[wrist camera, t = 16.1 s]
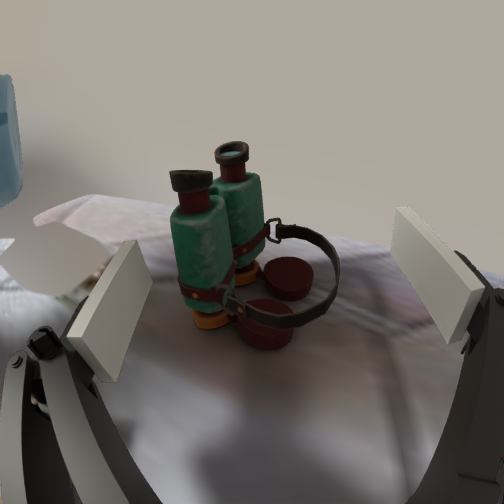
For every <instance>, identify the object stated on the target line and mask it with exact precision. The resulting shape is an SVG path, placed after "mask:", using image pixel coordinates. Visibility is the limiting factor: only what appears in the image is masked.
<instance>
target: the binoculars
mask: <svg viewBox="0 0 504 504" xmlns="http://www.w3.org/2000/svg"><path fill="white" fill-rule="evenodd" d="M214 154H215V160H216V163H218V164H220V171H221V176H220V177H219V178H216V179H214V180H213V173H212V172H211V171H203V170H176V171H170V172H169V173H170V178H171V184H172V188H173V190H174V191H175V192H178V197H179V203H180V204H179V205H178V206H177V207H176V208H175V210H174V211H173V213H172V214H171V217H170V224H171V232H172V238H173V244H174V250H175V256H176V262H177V268H178V273H179V275H178V282H179V286H180V290H181V293H182V295H183V296H184V300H185V303H186V305H187V306H188V307H190V308H192V314H193V317H194V321H195V323H196V325H197V326H198V327H200V328H202V329H213V328H217V327H220V326H222V325H225V324H226V323H228V322H231V323H233V324H236V325H237V329H238V332H239V333H240V335H241V336H242V338H243V339H244V340H245V341H247V342H248V343H249V344H251V345H253V346H255V347H257V348H261V349H268V350H269V349H277V348H280V347H282V346H284V345H286V344H287V343H288V342H289V341H290V340H291V338H292V334H293V330H294V328H295V327H301V326H303V325H304V324H306V323H308V322H310V321H312V320H314V319H316V318H318V317H320V316H321V315H323V314H325V313H326V311H327V310H328V308H329V307H330V305H331V304H332V302H333V301H334V299H335V297H336V293H337V288H338V283H339V276H340V263H339V257H338V255H337V253H336V250H335V248H334V246H333V245H332V244H331V243H330V242H329V241H328V240H327V239H326V238H325V237H324V236H323V235H321V234H319V233H317V232H315V231H313V230H311V229H309V228H305V227H300V226H296V224H294V225H283V224H281V219H280V218H273V219H269V220H268V221H267V222H266V223H264V212H263V201H262V190H261V181H260V177H259V175H257V174H255V173H250V172H246V170H245V162H246V161H248V160H249V146H248V144H246V143H245V142H241V141H233V142H229V143H225V144H223V145H221V146H219V147H218V148H217V149H216V150H215V153H214ZM273 221H278V224H276V238H277V239H278V241H277V240H274V239H271V238H270V224H269V223H270V222H273ZM265 237H266V238H267V239H268V240H269V241H271V242H274V243H276V244H280V242H281V239H286V238H298V239H302V240H307V241H308V242H310V243H312V244H314V245H316V246H318V247H320V248H321V249H322V250H323V251H324V253H325V254H326V255H327V256H328V257H329V258H330V259H331V261H332V264H333V267H334V269H335V274H336V285H335V286H334V288H333V289H332V291H331V292H330V294H329V295H328V297H327V298H326V299H325V300H324V301H322V302H320V303H318V304H316V305H314V306H312V307H310V308H308V309H306V310H304V311H302V312H298V313H294V312H293V311H292V309H291V308H289V307H288V306H287V305H285V304H284V303H281V302H279V301H275V300H270V299H255V300H250V301H247V302H244V301H242V300H241V299H240V298H239V297H238V296H237V295H236V294H235V293H233V288H234V286H237V285H244V284H248V283H251V282H253V281H255V280H257V279H259V280H262V281H264V284H265V286H266V288H267V289H268V291H269V292H270V293H271V294H272V295H274V296H275V297H277V298H279V299H281V300H284V301H296V300H300V299H302V298H304V297H305V296H307V295H308V294H309V292H310V290H311V286H312V281H313V276H314V275H313V270H312V268H311V266H310V265H309V264H308V263H307V262H306V261H304V260H302V259H299V258H296V257H280V258H276V259H273V260H271V261H269V262H268V263H267V264H266V265H265V267H264V272H263V271H262V270H261V267H260V265H259V263H258V262H257V261H256V260H254V259H255V258H256V257H257V256H258V255H259V254H260V253H261V252H262V251H263V249H264V247H265ZM236 313H237V314H236Z"/></svg>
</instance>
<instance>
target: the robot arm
mask: <svg viewBox="0 0 504 504" xmlns="http://www.w3.org/2000/svg"><path fill="white" fill-rule="evenodd" d="M22 186H23V162H22V153H21V145H20V136H19V128H18V119H17V110H16V101H15V93H14V87H13V85H12V78H11V76H10V75H8V74H7V75H0V209H1V208H3V207H4V206H6V205H7V204H9V203H10V202H12V201H13V200H14V199H16V198H17V196H18V195H19V193H20V191H21V189H22ZM390 255H391V256H392V257H393V259H394V260H395V262H396V263H397V264H398V266H399V267H400V269H401V270H402V272H403V273H404V275H405V276H406V278H407V279H408V281H409V282H410V284H411V285H412V287H413V288H414V290H415V291H416V293H417V294H418V296H419V298H420V299H421V301H422V302H423V304H424V305H425V307H426V309H427V310H428V312H429V314H430V315H431V317H432V319H433V320H434V322H435V324H436V325H437V327H438V329H439V331H440V332H441V334H442V336H443V338H444V339H445V341H446V343H447V345H448V344H450V343H453V342H456V341H459V340H461V339H462V337H463V335H464V333H465V331H466V329H467V331H468V332H469V334H470V337H469V339H468V340H467V342H466V344H465V346H464V348H463V349H462V352H461V354H463V353H464V351H465V350H466V351H465V356H464V361H463V366H462V370H461V374H460V378H459V382H458V386H457V390H456V393H455V397H454V400H453V404H452V407H451V410H450V413H449V416H448V419H447V422H446V425H445V428H444V431H443V433H442V436H441V439H440V441H439V444H438V446H437V449H436V451H435V453H434V456H433V458H432V460H431V462H430V465H429V467H428V469H427V471H426V473H425V475H424V477H423V479H422V481H421V483H420V485H419V487H418V489H417V490H416V492H415V493H414V494H413V495H412V496H411V498H410V499H409V500H408V501H407V502H406V503H405V504H496V503H497V500H498V498H499V494H500V485H499V484H498V483H497V482H496V474H497V471H498V467H499V464H500V461H501V457H502V454H503V450H504V289H500V288H496V289H494V288H493V287H492V286H491V285H490V283H489V282H488V281H487V280H486V279H485V278H484V276H483V275H482V274H481V273H480V272H479V271H478V270H477V269H476V267H475V266H474V265H472V264H471V262H470V261H469V260H468V259H467V258H466V257H465V256H464V255H462V254H461V253H459V252H458V251H453V250H452V249H451V248H450V247H449V246H448V245H447V244H446V243H445V242H444V241H443V240H442V239H441V238H440V237H439V236H438V235H437V234H436V233H435V232H434V231H433V230H432V229H431V228H430V227H429V226H428V225H427V224H426V223H425V222H424V221H423V220H422V219H421V218H420V217H419V216H418V215H416V214H415V213H414V212H413V211H412V210H411V209H410V208H409V207H396V208H395V216H394V225H393V234H392V242H391V250H390ZM152 284H153V281H152V279H151V276H150V273H149V271H148V268H147V266H146V263H145V261H144V258H143V255H142V253H141V250H140V247H139V245H138V242H137V240H131V241H124V242H123V244H122V245H121V247H120V248H119V250H118V251H117V253H116V254H115V256H114V257H113V259H112V260H111V262H110V263H109V265H108V266H107V268H106V269H105V271H104V273H103V274H102V276H101V277H100V279H99V281H98V282H97V284H96V285H95V287H94V289H93V290H92V292H91V294H90V295H89V296H87V297H86V298H85V299H84V300H83V301H82V302H81V303H80V304H79V305H78V307H77V309H76V310H75V313H74V314H73V316H72V317H71V320H70V321H69V323H68V324H67V326H66V328H65V330H64V332H63V333H62V335H61V337H60V339H59V338H58V337H57V335H56V334H55V333H54V331H53V330H52V328H51V327H49V326H42V327H40V328H38V329H37V330H35V331H34V332H33V333H32V335H31V336H30V337H29V340H28V343H27V346H28V347H29V348H30V350H31V351H32V352H33V353H34V355H35V356H36V357H33V358H30V357H29V356H28V354H27V353H26V352H25V351H23V350H21V351H18V352H16V353H14V354H13V355H12V356H11V357H10V359H9V361H8V363H7V367H6V372H5V378H4V385H3V392H2V400H1V410H0V487H1V496H2V504H75V501H74V497H73V493H72V488H71V483H70V478H69V474H70V476H71V479H72V481H73V484H74V486H75V488H76V490H77V493H78V495H79V497H80V499H81V501H82V503H83V504H163V503H162V502H161V501H160V499H159V498H158V497H157V495H156V494H155V492H154V491H153V489H152V488H151V487H150V485H149V484H148V482H147V481H146V479H145V478H144V476H143V474H142V473H141V471H140V470H139V468H138V467H137V465H136V463H135V462H134V460H133V458H132V457H131V455H130V453H129V451H128V450H127V448H126V446H125V444H124V443H123V441H122V439H121V437H120V435H119V433H118V431H117V429H116V427H115V425H114V423H113V421H112V419H111V417H110V415H109V413H108V411H107V409H106V407H105V405H104V403H103V400H102V398H101V396H100V394H99V391H98V389H97V386H96V384H95V383H94V382H93V381H92V378H93V376H94V373H95V375H96V376H97V377H98V378H99V379H100V380H101V382H111V383H116V382H117V379H118V376H119V373H120V370H121V367H122V364H123V361H124V358H125V355H126V352H127V349H128V346H129V344H130V341H131V338H132V335H133V333H134V330H135V327H136V324H137V322H138V319H139V317H140V314H141V311H142V309H143V306H144V304H145V301H146V299H147V296H148V294H149V291H150V289H151V286H152ZM31 396H32V397H33V398H34V399H35V404H33V403H32V402H31ZM502 504H504V496H503V502H502Z"/></svg>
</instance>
